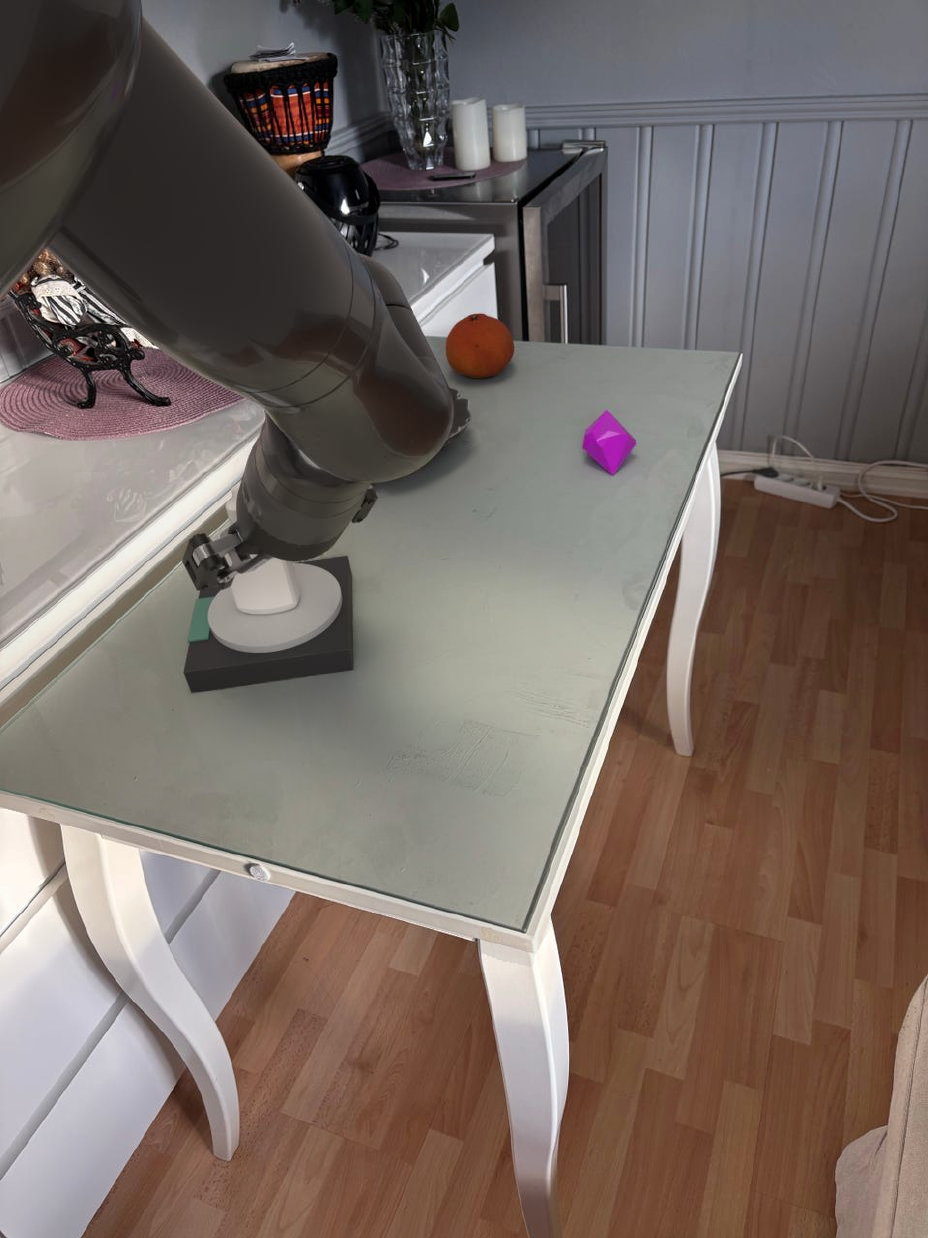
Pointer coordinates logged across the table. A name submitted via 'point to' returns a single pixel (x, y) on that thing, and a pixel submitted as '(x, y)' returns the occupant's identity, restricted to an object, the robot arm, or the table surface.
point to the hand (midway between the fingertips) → (268, 556)
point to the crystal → (608, 442)
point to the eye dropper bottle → (262, 580)
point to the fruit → (479, 346)
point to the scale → (274, 632)
